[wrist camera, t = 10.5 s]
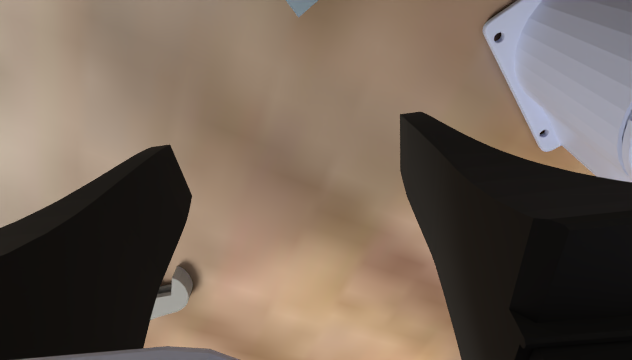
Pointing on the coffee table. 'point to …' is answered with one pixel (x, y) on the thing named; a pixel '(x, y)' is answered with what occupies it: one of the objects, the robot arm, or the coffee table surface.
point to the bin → (300, 5)
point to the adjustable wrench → (173, 294)
